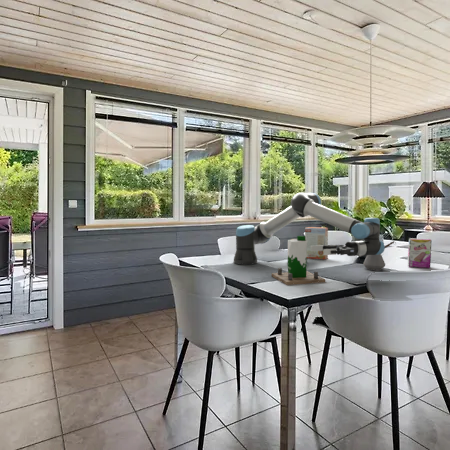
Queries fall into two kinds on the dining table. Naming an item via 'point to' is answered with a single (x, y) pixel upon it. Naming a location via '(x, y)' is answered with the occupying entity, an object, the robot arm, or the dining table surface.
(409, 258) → the candy bar box
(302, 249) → the soya milk
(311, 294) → the dining table surface
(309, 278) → the peg board
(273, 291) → the dining table surface
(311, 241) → the cracker box
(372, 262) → the coffee pot
